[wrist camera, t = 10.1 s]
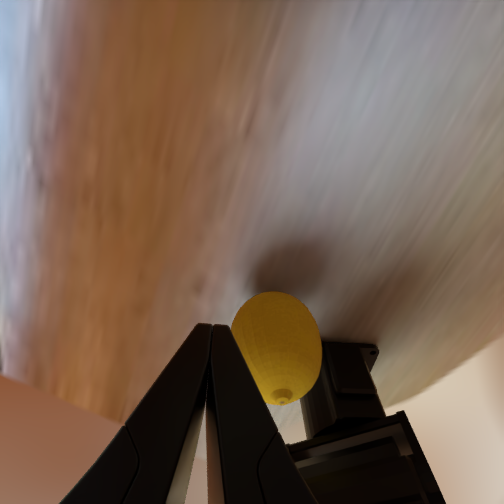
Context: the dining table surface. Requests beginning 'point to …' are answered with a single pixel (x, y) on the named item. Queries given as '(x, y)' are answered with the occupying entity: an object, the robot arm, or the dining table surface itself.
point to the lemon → (279, 345)
